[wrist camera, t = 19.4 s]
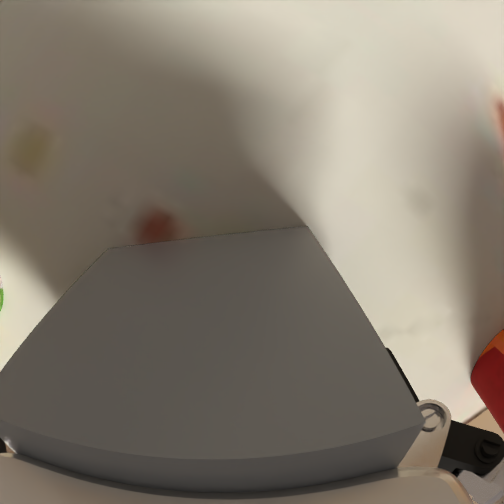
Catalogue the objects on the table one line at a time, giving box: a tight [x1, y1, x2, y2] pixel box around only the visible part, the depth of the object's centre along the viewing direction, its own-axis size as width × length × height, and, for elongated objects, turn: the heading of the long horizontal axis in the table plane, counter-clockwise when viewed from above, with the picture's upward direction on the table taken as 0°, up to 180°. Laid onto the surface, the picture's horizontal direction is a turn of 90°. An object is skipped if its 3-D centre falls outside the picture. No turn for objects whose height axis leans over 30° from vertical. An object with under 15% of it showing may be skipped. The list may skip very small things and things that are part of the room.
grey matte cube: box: [0, 226, 426, 493], centre depth 8 cm, size 8×8×9 cm
